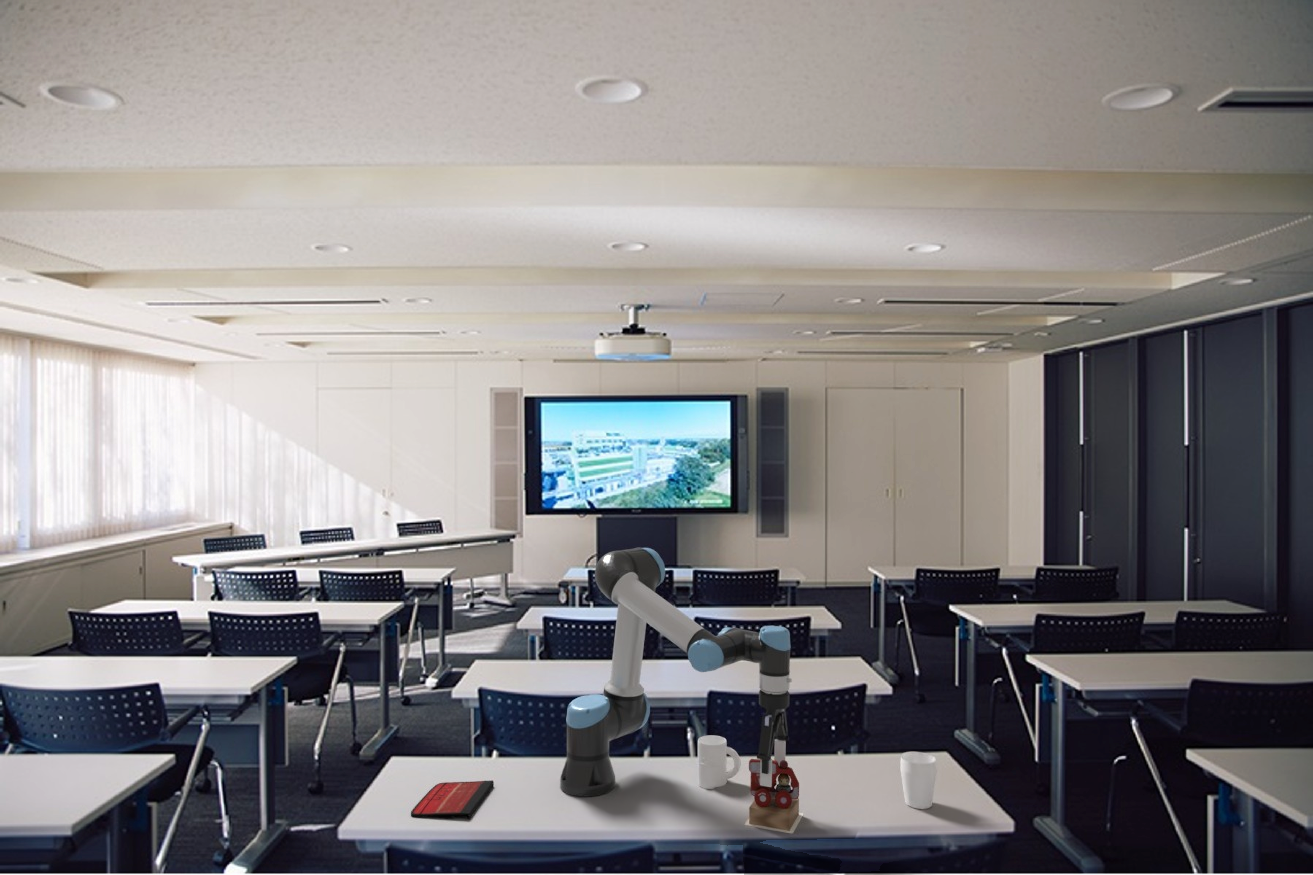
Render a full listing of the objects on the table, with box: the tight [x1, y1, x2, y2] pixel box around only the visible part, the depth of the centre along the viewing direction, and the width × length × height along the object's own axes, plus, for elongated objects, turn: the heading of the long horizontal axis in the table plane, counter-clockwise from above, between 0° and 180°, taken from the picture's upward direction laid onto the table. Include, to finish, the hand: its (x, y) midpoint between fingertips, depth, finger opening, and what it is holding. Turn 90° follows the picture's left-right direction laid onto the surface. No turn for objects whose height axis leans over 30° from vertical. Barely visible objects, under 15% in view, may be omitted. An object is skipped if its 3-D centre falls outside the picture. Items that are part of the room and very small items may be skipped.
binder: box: [410, 780, 495, 820], centre depth 218 cm, size 16×2×21 cm
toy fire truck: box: [748, 758, 800, 809], centre depth 206 cm, size 7×12×10 cm, turn 81°
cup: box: [899, 751, 937, 810], centre depth 217 cm, size 9×9×12 cm
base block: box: [748, 797, 800, 831], centre depth 206 cm, size 10×10×4 cm
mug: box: [697, 734, 742, 790], centre depth 229 cm, size 8×12×12 cm
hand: (772, 775), depth 206 cm, fingers open, 13 cm apart
